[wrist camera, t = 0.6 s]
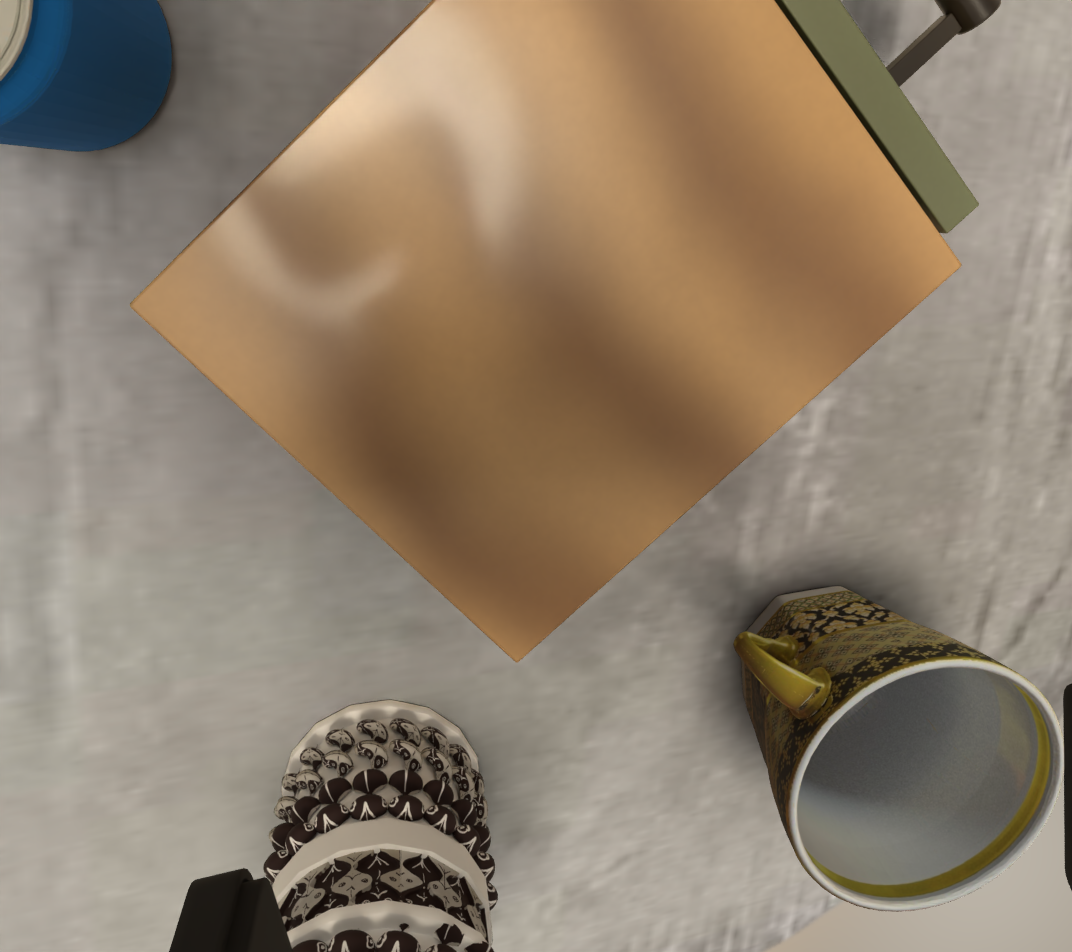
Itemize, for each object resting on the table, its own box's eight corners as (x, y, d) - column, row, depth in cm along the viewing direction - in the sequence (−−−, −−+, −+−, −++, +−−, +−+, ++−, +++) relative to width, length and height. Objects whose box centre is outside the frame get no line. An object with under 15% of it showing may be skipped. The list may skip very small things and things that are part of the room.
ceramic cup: (961, 627, 42) (1122, 754, 33) (813, 789, 44) (927, 956, 34) (753, 462, 39) (868, 553, 29) (600, 646, 40) (662, 789, 31)
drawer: (732, -227, 31) (860, -384, 22) (950, 99, 35) (1128, 71, 26) (277, 225, 33) (234, 240, 24) (531, 483, 37) (570, 572, 28)
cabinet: (558, -78, 32) (632, -202, 22) (804, 242, 36) (963, 265, 26) (210, 268, 34) (127, 305, 23) (485, 535, 38) (517, 664, 28)
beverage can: (196, -20, 31) (78, -138, 20) (155, 178, 33) (24, 175, 21) (-15, -96, 30) (-274, -270, 18) (-48, 115, 31) (-305, 75, 20)
